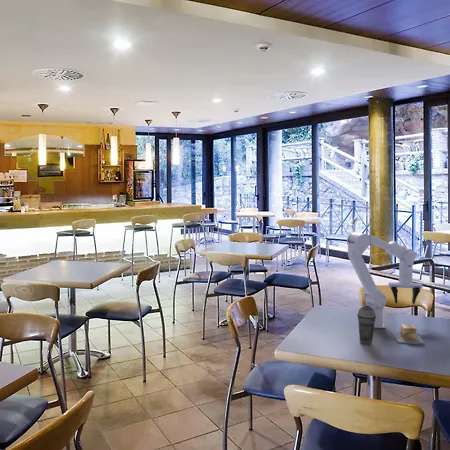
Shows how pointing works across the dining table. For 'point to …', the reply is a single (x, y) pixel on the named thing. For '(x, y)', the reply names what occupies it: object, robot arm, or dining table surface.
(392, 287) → the robot arm
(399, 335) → the coaster mat
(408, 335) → the oak cube
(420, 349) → the dining table surface
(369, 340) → the beverage cup
